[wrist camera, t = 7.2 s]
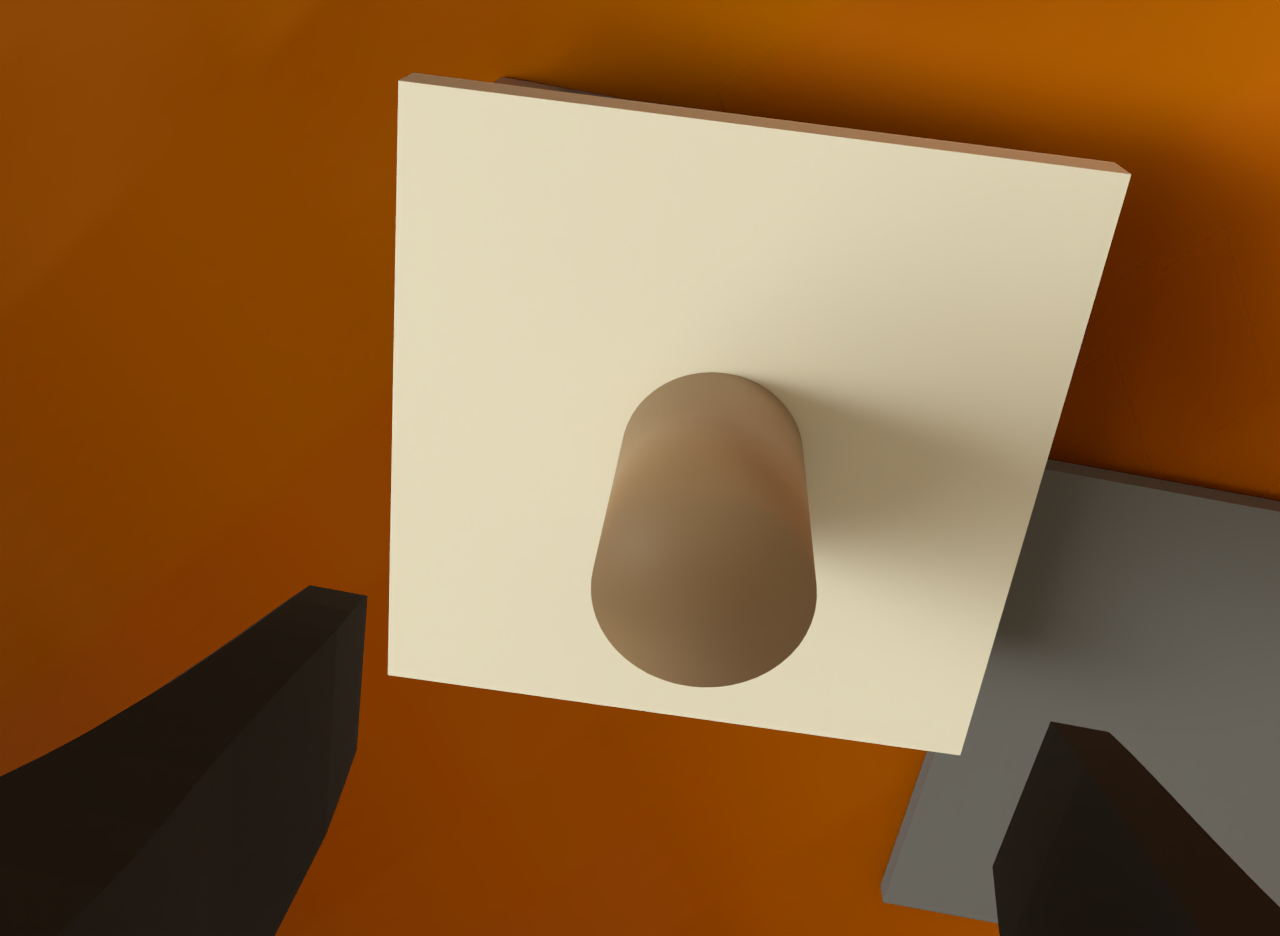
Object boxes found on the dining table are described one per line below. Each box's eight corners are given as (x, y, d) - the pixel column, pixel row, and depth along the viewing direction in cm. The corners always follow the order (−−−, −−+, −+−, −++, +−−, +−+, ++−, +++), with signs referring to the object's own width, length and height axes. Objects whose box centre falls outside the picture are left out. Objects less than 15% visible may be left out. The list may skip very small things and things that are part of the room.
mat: (1358, 972, 27) (1368, 991, 26) (880, 884, 27) (882, 901, 26) (1614, 562, 22) (1632, 576, 21) (1029, 455, 22) (1035, 466, 21)
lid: (953, 726, 21) (1006, 940, 17) (399, 648, 21) (311, 840, 17) (1115, 162, 17) (1243, 256, 12) (413, 72, 17) (297, 134, 12)
